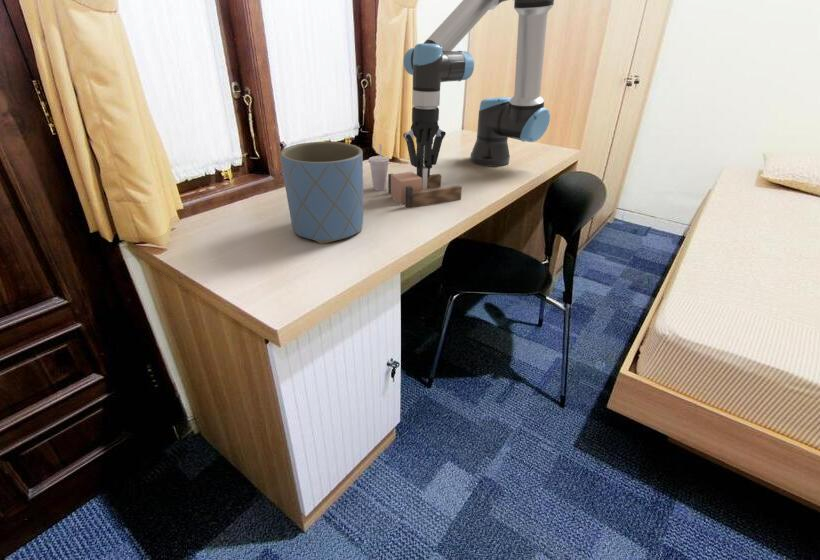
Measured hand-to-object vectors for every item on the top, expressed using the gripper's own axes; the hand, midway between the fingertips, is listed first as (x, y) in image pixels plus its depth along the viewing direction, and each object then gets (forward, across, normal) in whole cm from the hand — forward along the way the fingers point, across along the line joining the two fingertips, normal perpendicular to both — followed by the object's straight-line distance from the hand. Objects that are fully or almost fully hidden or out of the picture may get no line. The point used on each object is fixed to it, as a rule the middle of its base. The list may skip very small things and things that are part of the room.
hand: (422, 188), depth 133 cm
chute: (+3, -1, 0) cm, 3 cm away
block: (+3, +6, 0) cm, 6 cm away
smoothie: (+3, +10, -12) cm, 15 cm away
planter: (+3, +34, +12) cm, 36 cm away
